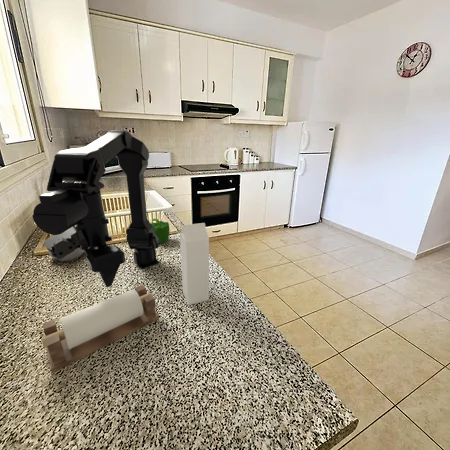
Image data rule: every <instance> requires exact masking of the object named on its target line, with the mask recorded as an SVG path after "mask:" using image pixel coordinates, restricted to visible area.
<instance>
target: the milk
mask: <svg viewBox="0 0 450 450" xmlns="http://www.w3.org/2000/svg"><path fill="white" fill-rule="evenodd" d="M181 228H182V229H181V230H182V231H181V232H179V239H180V240H179V242H180V258H181V259H180V260H181V262H180V263H181V282H182V283H181V284H182V293H183V296H184V298H185V300H186V303H187V305H188V306H191V305H194V304H198V303H203V302H206V301H209V300H210V237H209V234H208V232H207V229H206V223H205V222H201V223H192V224H185V225H184V224H183V225H182V226H181Z"/></svg>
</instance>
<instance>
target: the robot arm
mask: <svg viewBox="0 0 450 450" xmlns="http://www.w3.org/2000/svg"><path fill="white" fill-rule="evenodd" d="M105 133H106V134H104V135H102V136H100V137H98V138H97V139H95V140H94V141H92V142H91V143H89V144H87V145H86V146H83V147H76V148H68V149H63V150H59V151H58V152H57V153H55V155H54V157H53V161H52V166H51V169H50V173H49V177H48V182H47V186H46V191H47V193H43V194H40V195H39V196H38V197H39V202H40V203H38V204H37V205H36V206H35V207H34V209H33V211H32V212H33V213H32V216H31V217H32V220H33V221H34V224H35V225H36V227H38V229H39V230H40V231H42V232H44V233H46V234H48V235H51V236H49V237H47V238H46V239H45V240H44V241H43V243H44V246H45V249H46V250H47V251H48V253H49V252H50V253H51V254H52V256H53V257H55V258H56V259H55V258H54V259H55V260H57V261H60V259H62V258H64V257H65V256H67V255H69V254H70V253H72V252H74V250H76V249H77V248H80V249H82V250H84V253H85V254H86V256H85V258H86V262H87V265H88V267H89V269H90V270H91V272H93V273H99V275H100V277H101V280H102V281H103V283H104V286H105V288H110V287H111V286H112V285H113V284H114V280H115V278H116V275H117V273H118V270H119V268H120V267H121V265H122V264H124V263H125V262H126V256H125V252H124V251H123V250H122V249H121V248H120V247H119V246H117V245H116V244H113V243H112V244H109V245H108V244H107V243H108V242H112V241H113V238H112V236H111V234H109V230H108V225H109V224H110V223H109V218H108V217H107V216H106V215H105V208H104V203H103V200H102V199H103V198H102V193H101V190H102V189H104V188H105V184H104V183H103V182H101V181H100V180H101V178H103V175H104V174H105V173H106V171H107V170H106V166H105V165H106V164H107V163H108V162H109V161H111V160H112V159H113V158H114V157H115V158H116V159H117V162H118V166H119V168H120V169H121V170H122V172H123V173H124V174H125V176H126V184H127V192H128V193H127V194H128V202H129V210H130V220H131V222H130V224H129V226H128V227H127V229H126V231H125V232H126V239H125V240H126V242H127V244H128V248H129V250H134V251H133V253H132V254H133V263H134V264H135V265H136V266H137V267H138V268H139V269H141V270H142V269H145V268H149V267H151V266H154V265H157V264H159V263H160V261H159V260H158V259H157V250H156V249H159V248H160V243H159V238H158V237H157V236H156V234H155V233H154V230H153V226H152V224H151V223H152V222H150V221H149V219H148V212H147V204H146V203H147V202H146V191H145V178H144V173H145V172H146V170H147V168H148V166H149V159H150V151H149V149H148V147H147V146H146V145H145V143H144V142H143V141H142V140H139V139H138V138H137V137H134V136H133V135H132V134H131V133H130V132H129V131H127V130H122V129H120V130H119V129H116V130H115V129H110V130H108V131H106V132H105ZM48 192H49V193H48ZM52 256H51V257H52ZM53 257H52V258H53Z"/></svg>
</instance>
